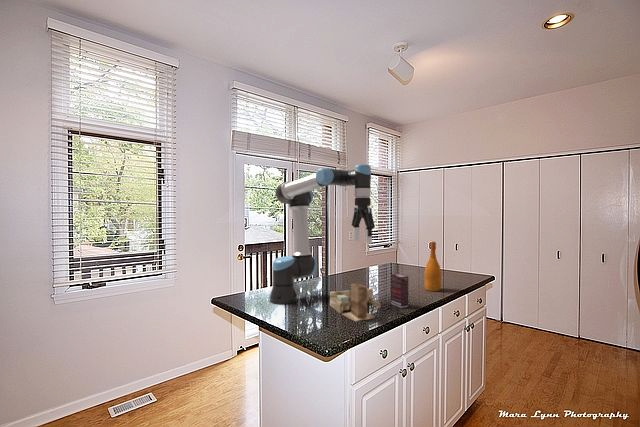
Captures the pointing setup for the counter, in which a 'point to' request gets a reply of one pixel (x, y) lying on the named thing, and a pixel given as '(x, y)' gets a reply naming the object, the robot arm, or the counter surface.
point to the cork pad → (356, 317)
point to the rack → (349, 299)
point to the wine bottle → (432, 271)
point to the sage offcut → (342, 298)
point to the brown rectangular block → (359, 300)
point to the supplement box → (399, 290)
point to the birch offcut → (346, 306)
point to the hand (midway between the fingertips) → (362, 242)
